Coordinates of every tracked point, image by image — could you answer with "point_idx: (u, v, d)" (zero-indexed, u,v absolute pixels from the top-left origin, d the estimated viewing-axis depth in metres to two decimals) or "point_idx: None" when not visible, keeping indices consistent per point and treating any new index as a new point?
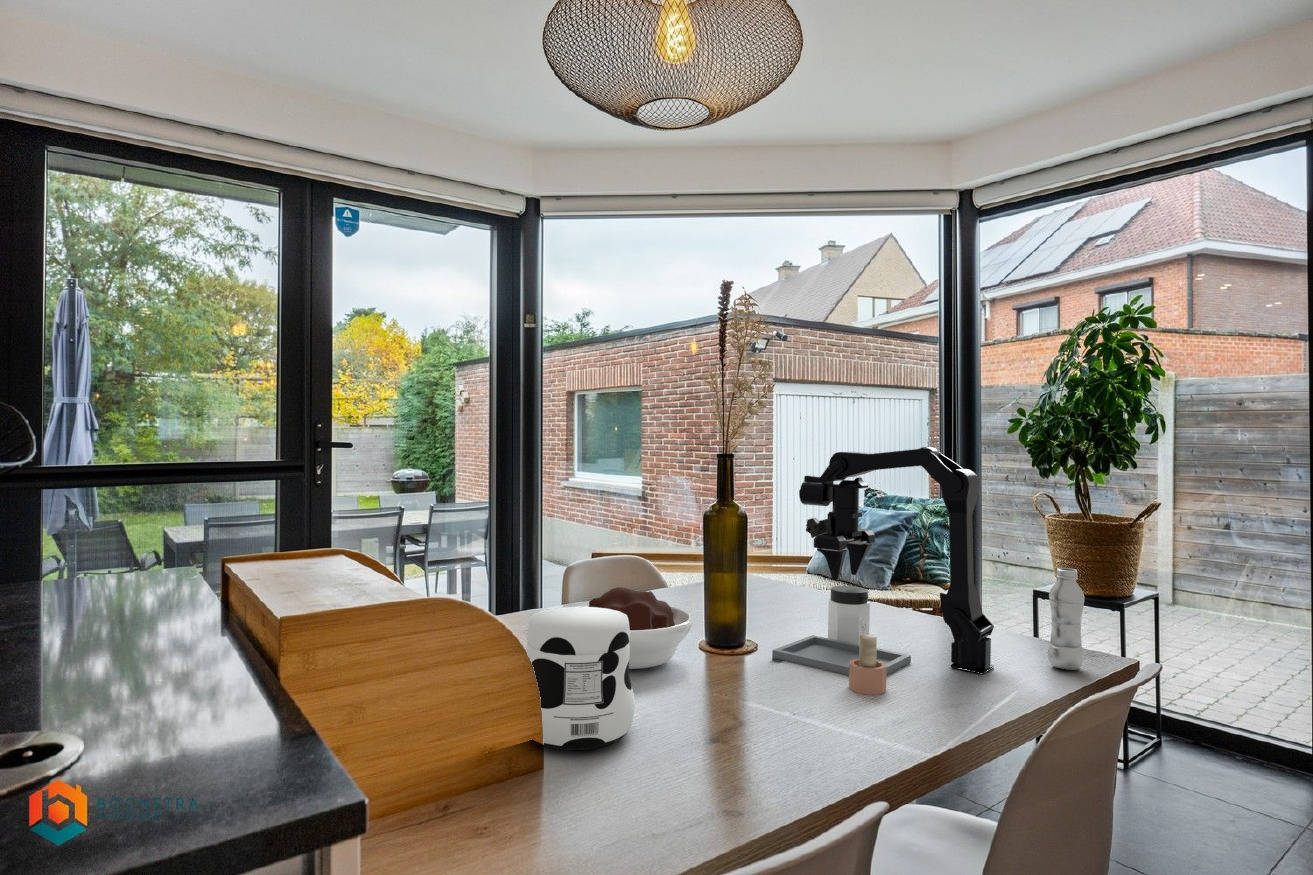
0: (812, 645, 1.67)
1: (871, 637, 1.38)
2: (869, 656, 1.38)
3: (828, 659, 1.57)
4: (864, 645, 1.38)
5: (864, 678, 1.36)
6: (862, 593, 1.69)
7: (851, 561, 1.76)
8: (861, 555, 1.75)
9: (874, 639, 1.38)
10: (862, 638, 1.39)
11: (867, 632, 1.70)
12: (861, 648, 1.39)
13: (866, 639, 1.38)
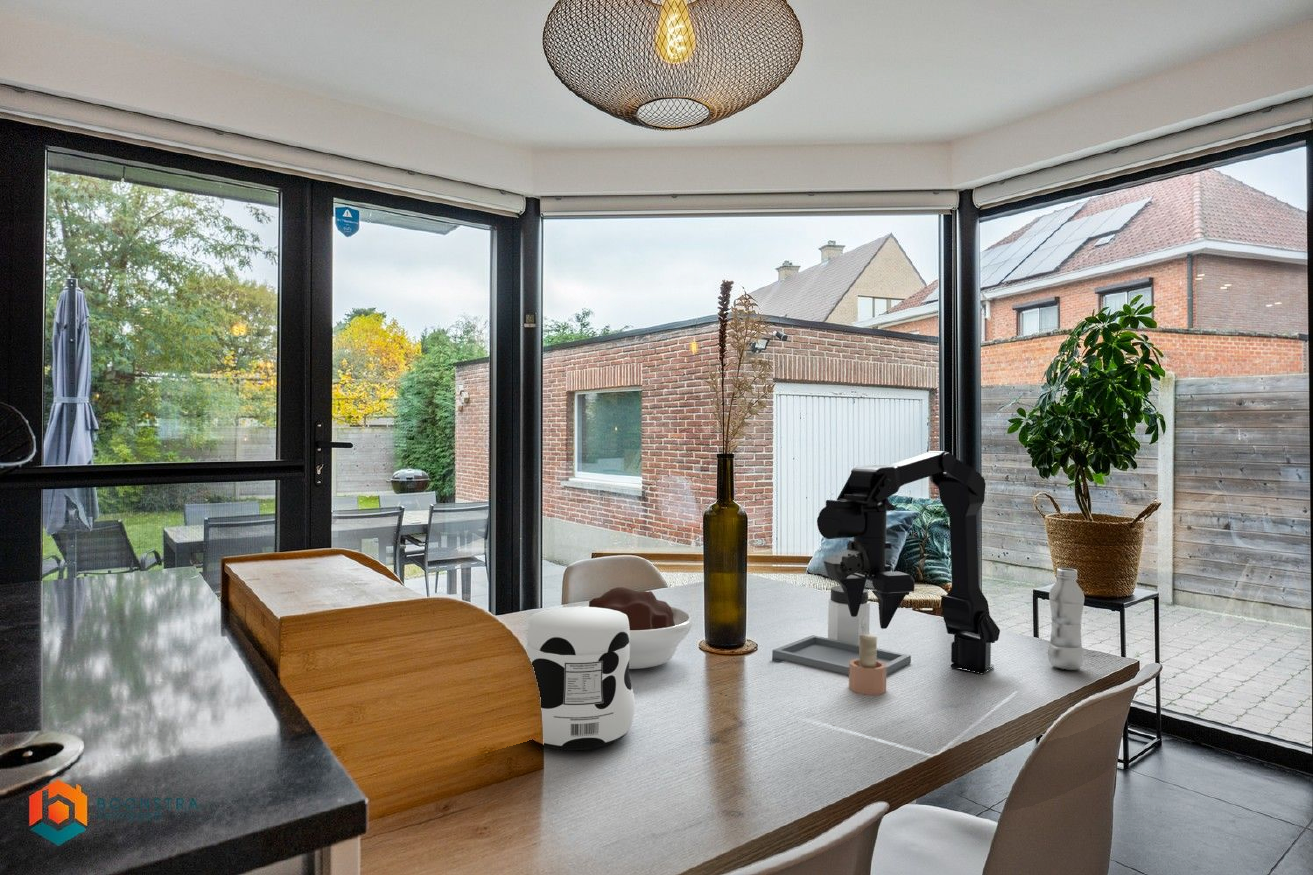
0: (812, 645, 1.67)
1: (871, 637, 1.38)
2: (869, 656, 1.38)
3: (828, 659, 1.57)
4: (864, 645, 1.38)
5: (864, 678, 1.36)
6: None
7: (851, 600, 1.44)
8: (861, 591, 1.45)
9: (874, 639, 1.38)
10: (862, 638, 1.39)
11: (867, 632, 1.70)
12: (861, 648, 1.39)
13: (866, 639, 1.38)
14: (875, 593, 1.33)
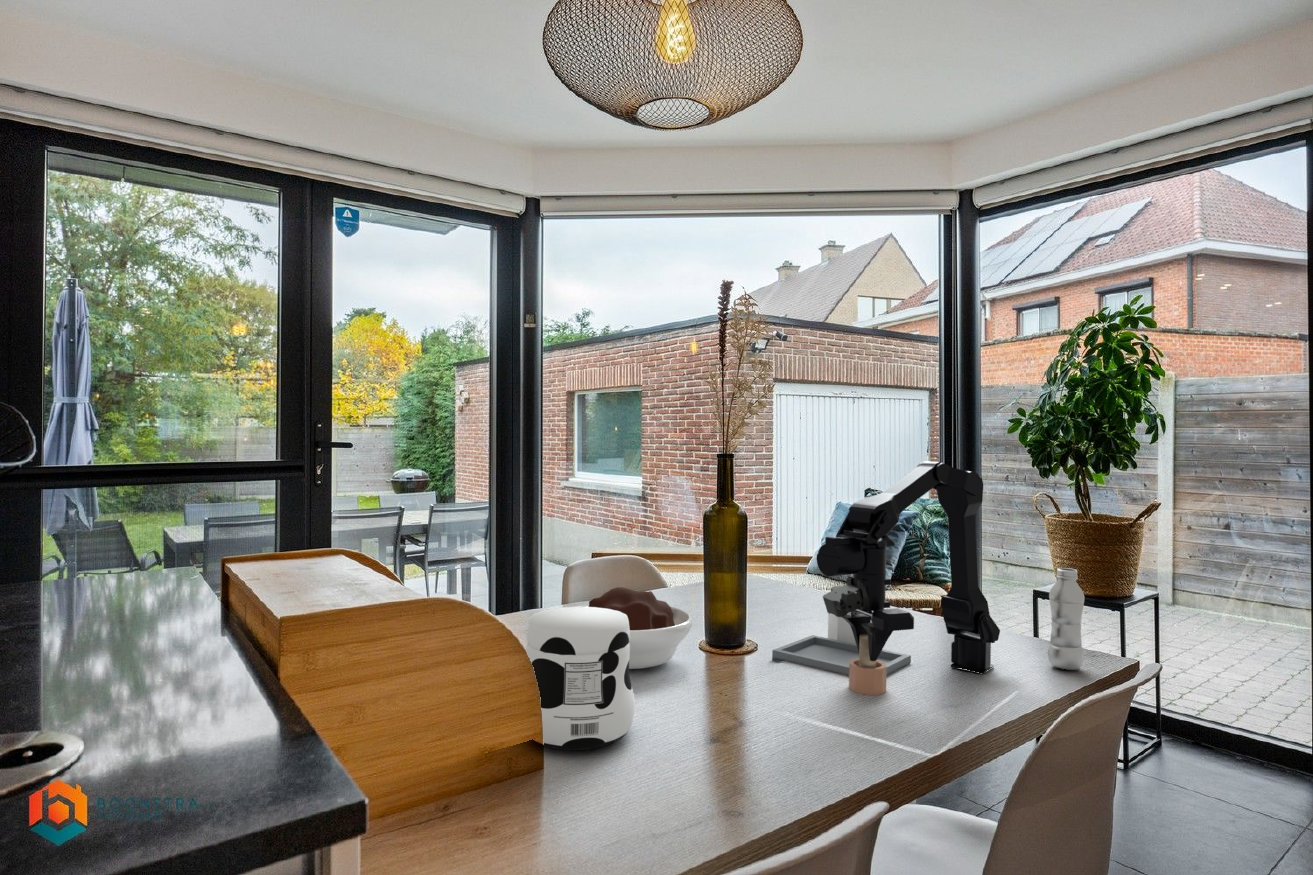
0: (812, 645, 1.67)
1: None
2: (869, 656, 1.38)
3: (828, 659, 1.57)
4: (864, 645, 1.38)
5: (864, 678, 1.36)
6: None
7: (859, 639, 1.41)
8: None
9: None
10: (862, 638, 1.39)
11: None
12: (861, 648, 1.39)
13: (866, 639, 1.38)
14: (865, 627, 1.36)
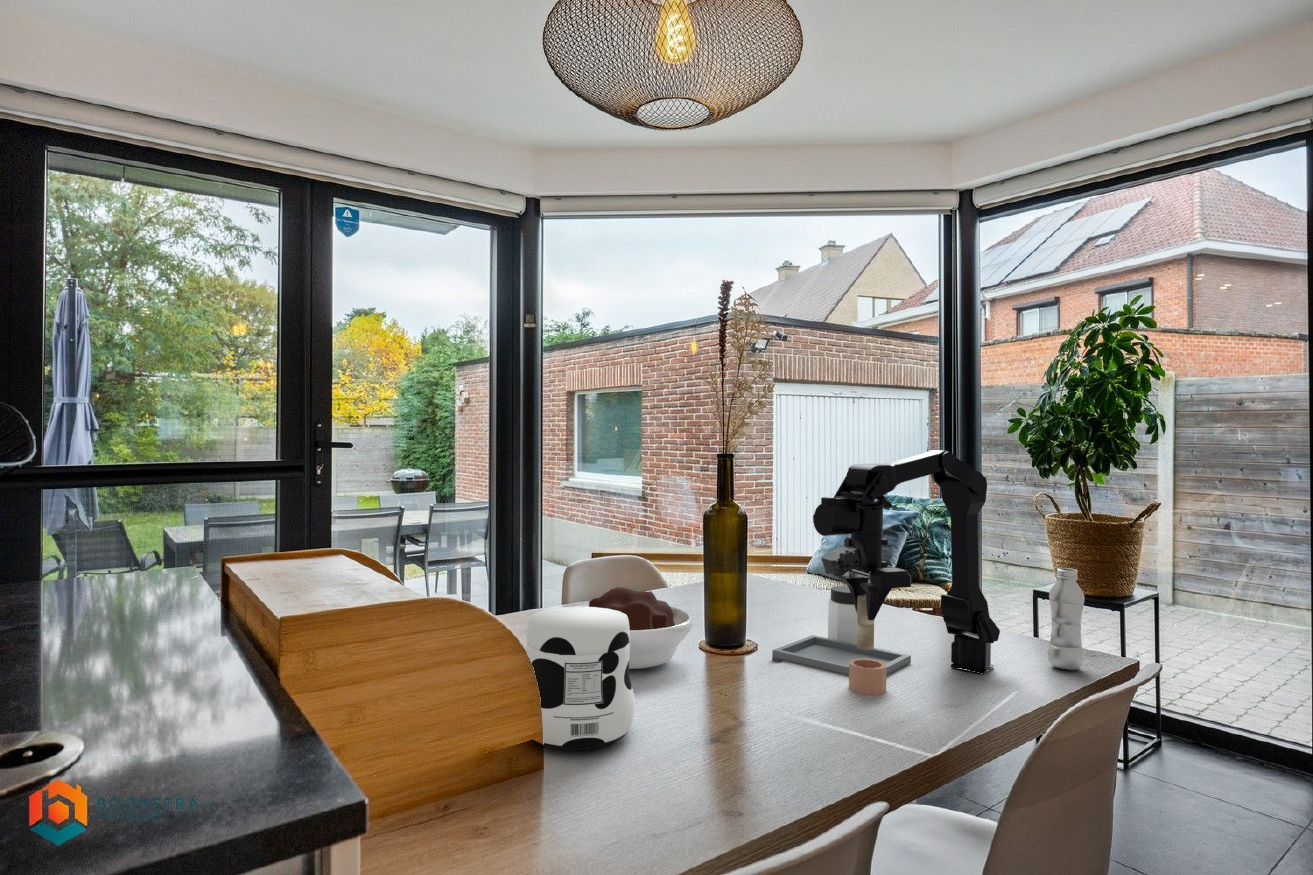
0: (812, 645, 1.67)
1: None
2: (867, 616, 1.40)
3: (828, 659, 1.57)
4: (862, 605, 1.40)
5: (864, 678, 1.36)
6: None
7: None
8: None
9: None
10: (860, 598, 1.40)
11: None
12: (859, 608, 1.41)
13: (864, 599, 1.40)
14: (863, 586, 1.38)
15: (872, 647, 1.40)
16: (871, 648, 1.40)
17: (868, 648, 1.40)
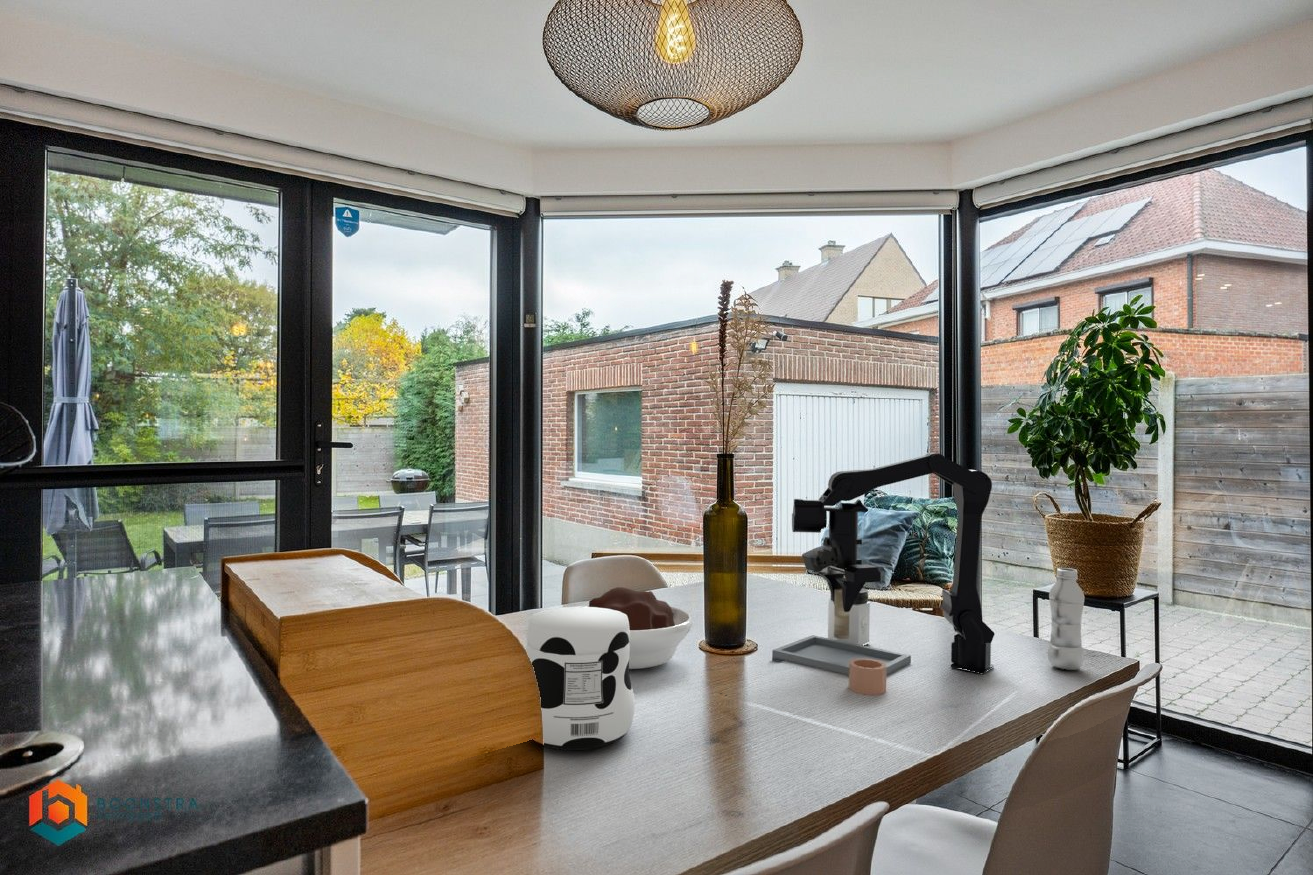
0: (812, 645, 1.67)
1: None
2: (843, 608, 1.55)
3: (828, 659, 1.57)
4: (838, 598, 1.56)
5: (864, 678, 1.36)
6: (862, 593, 1.69)
7: None
8: None
9: None
10: (837, 592, 1.56)
11: (867, 632, 1.70)
12: (836, 601, 1.56)
13: (840, 592, 1.56)
14: (839, 581, 1.53)
15: (847, 636, 1.56)
16: (846, 637, 1.56)
17: (844, 637, 1.55)
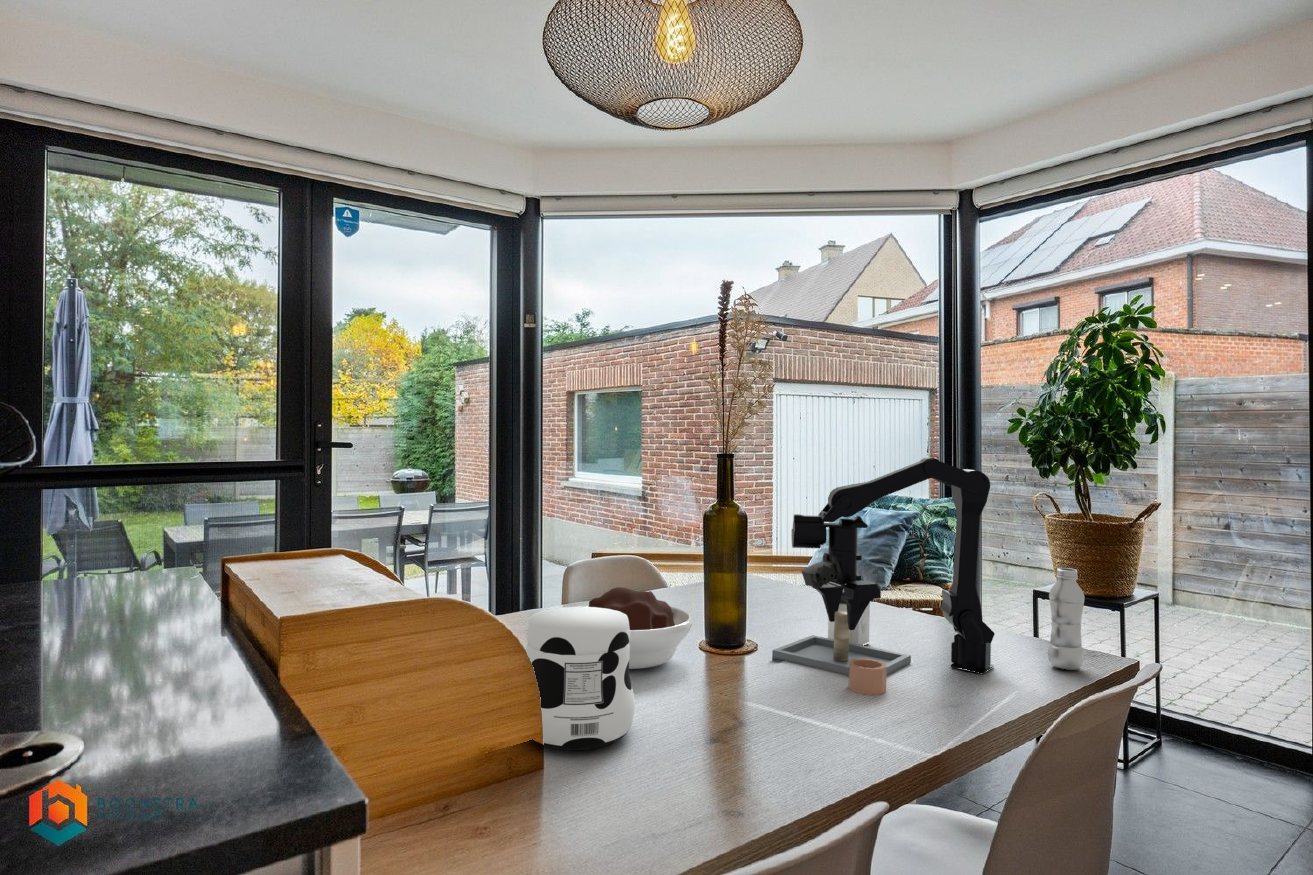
0: (812, 645, 1.67)
1: (845, 614, 1.56)
2: (843, 631, 1.55)
3: (828, 659, 1.57)
4: (838, 621, 1.55)
5: (864, 678, 1.36)
6: None
7: (829, 607, 1.60)
8: (838, 599, 1.61)
9: None
10: (837, 615, 1.56)
11: (867, 632, 1.70)
12: (836, 624, 1.56)
13: (840, 616, 1.55)
14: (843, 599, 1.51)
15: (847, 659, 1.56)
16: (846, 660, 1.56)
17: (843, 660, 1.55)
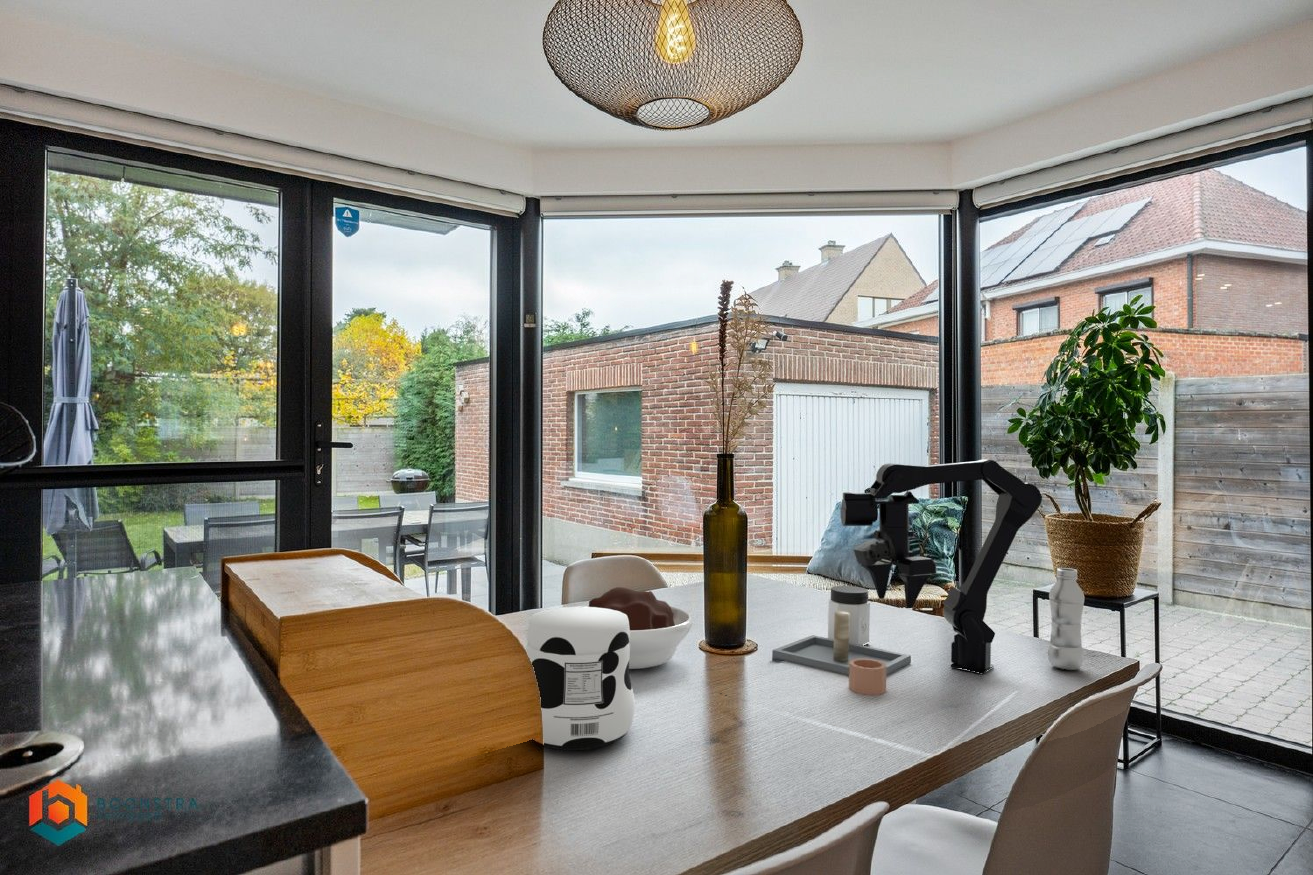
0: (812, 645, 1.67)
1: (844, 614, 1.56)
2: (843, 631, 1.55)
3: (828, 659, 1.57)
4: (838, 621, 1.56)
5: (864, 678, 1.36)
6: (862, 593, 1.69)
7: (878, 584, 1.60)
8: (887, 576, 1.61)
9: (847, 615, 1.56)
10: (836, 614, 1.56)
11: (867, 632, 1.70)
12: (835, 623, 1.56)
13: (840, 615, 1.56)
14: (901, 576, 1.49)
15: (847, 659, 1.56)
16: (846, 660, 1.56)
17: (843, 660, 1.55)
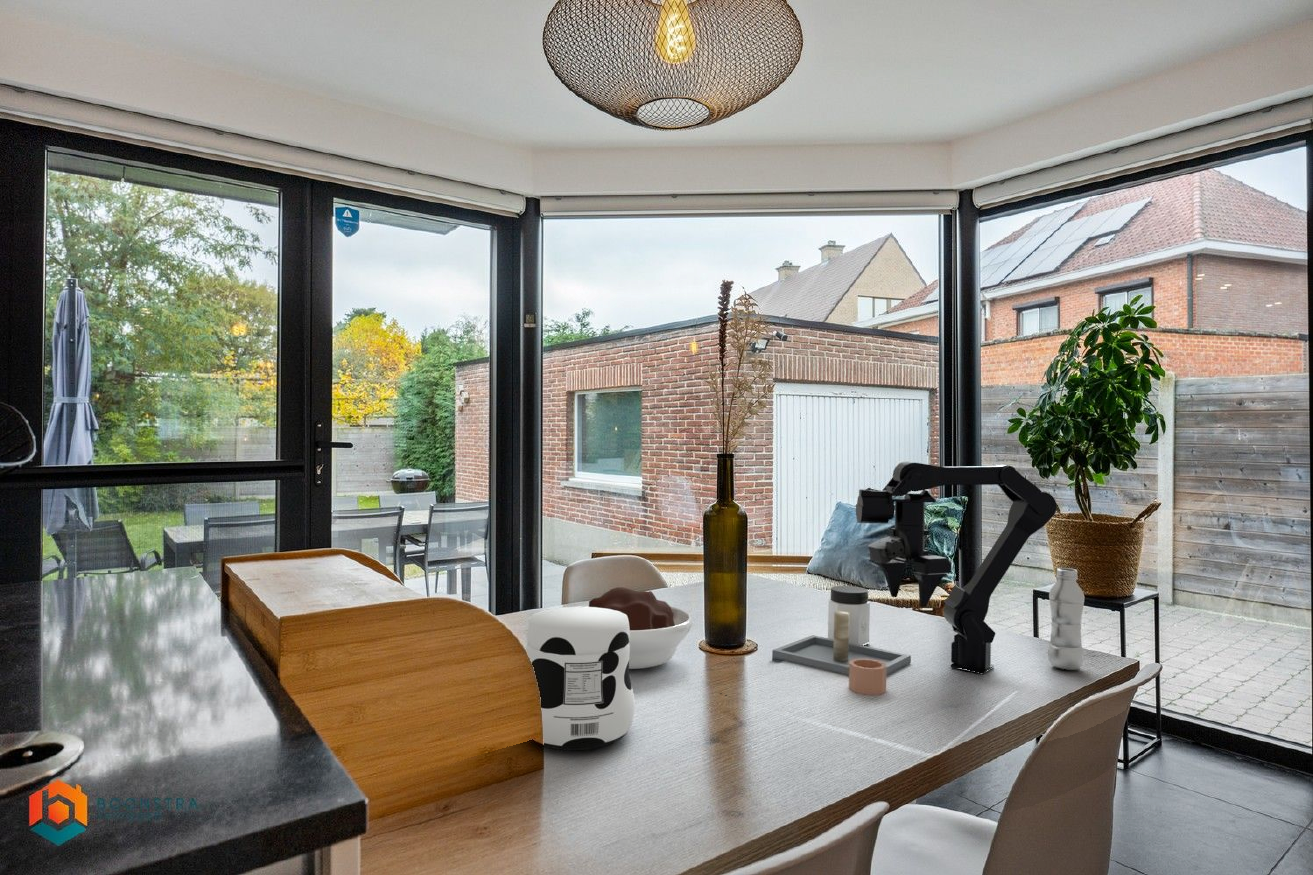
0: (812, 645, 1.67)
1: (844, 613, 1.56)
2: (842, 630, 1.56)
3: (828, 659, 1.57)
4: (838, 621, 1.56)
5: (864, 678, 1.36)
6: (862, 593, 1.69)
7: (891, 582, 1.59)
8: (900, 574, 1.60)
9: (847, 615, 1.56)
10: (836, 614, 1.56)
11: (867, 632, 1.70)
12: (835, 623, 1.56)
13: (839, 615, 1.56)
14: (916, 575, 1.49)
15: (847, 659, 1.56)
16: (846, 660, 1.56)
17: (843, 659, 1.55)
